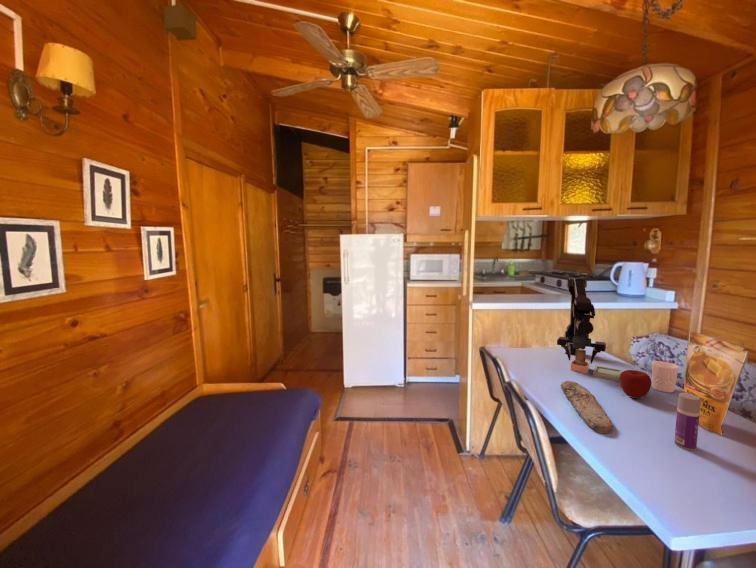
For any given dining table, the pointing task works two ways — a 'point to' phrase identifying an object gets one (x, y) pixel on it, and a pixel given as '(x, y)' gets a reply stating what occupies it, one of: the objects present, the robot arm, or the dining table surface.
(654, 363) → the pink cylinder
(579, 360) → the dowel
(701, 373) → the pancake mix bag
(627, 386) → the apple
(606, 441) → the dining table surface
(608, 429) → the french baguette
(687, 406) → the container
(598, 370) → the tray
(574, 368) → the holder
